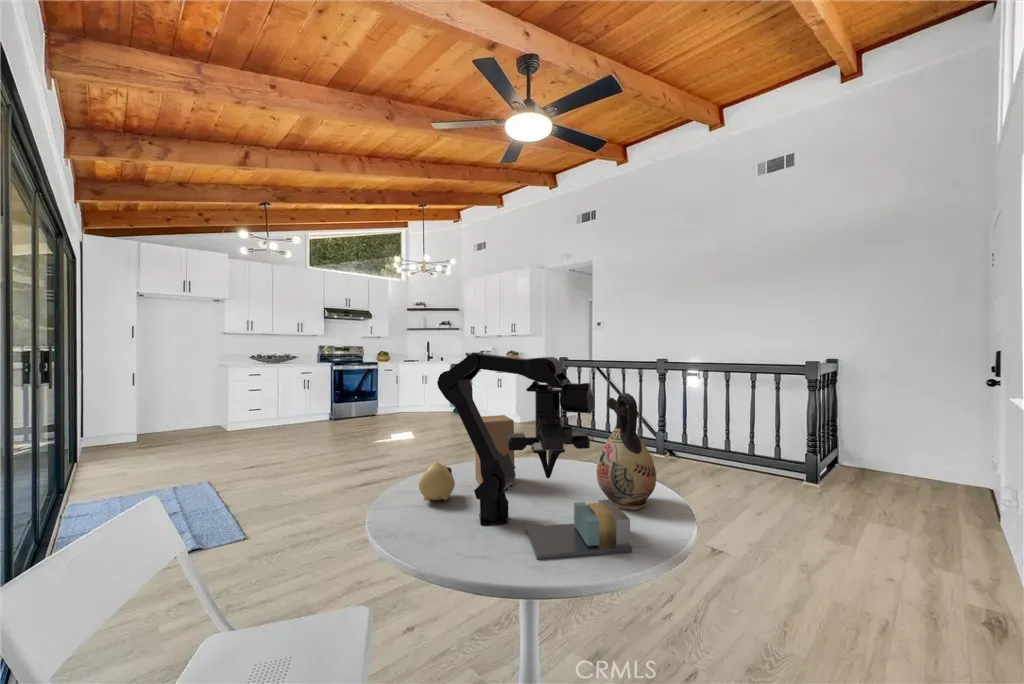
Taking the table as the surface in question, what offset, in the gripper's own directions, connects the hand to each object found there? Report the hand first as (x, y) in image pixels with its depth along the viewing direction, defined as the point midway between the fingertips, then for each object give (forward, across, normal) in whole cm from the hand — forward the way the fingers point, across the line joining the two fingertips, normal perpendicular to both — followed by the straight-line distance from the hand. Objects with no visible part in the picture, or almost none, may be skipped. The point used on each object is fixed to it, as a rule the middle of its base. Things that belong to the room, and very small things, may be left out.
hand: (548, 477), depth 110 cm
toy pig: (+12, -27, +23) cm, 38 cm away
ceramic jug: (+12, +23, +12) cm, 29 cm away
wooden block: (+12, -11, +36) cm, 39 cm away
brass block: (+11, +10, -8) cm, 17 cm away
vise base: (+12, +5, -8) cm, 15 cm away
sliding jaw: (+11, +7, -8) cm, 15 cm away
